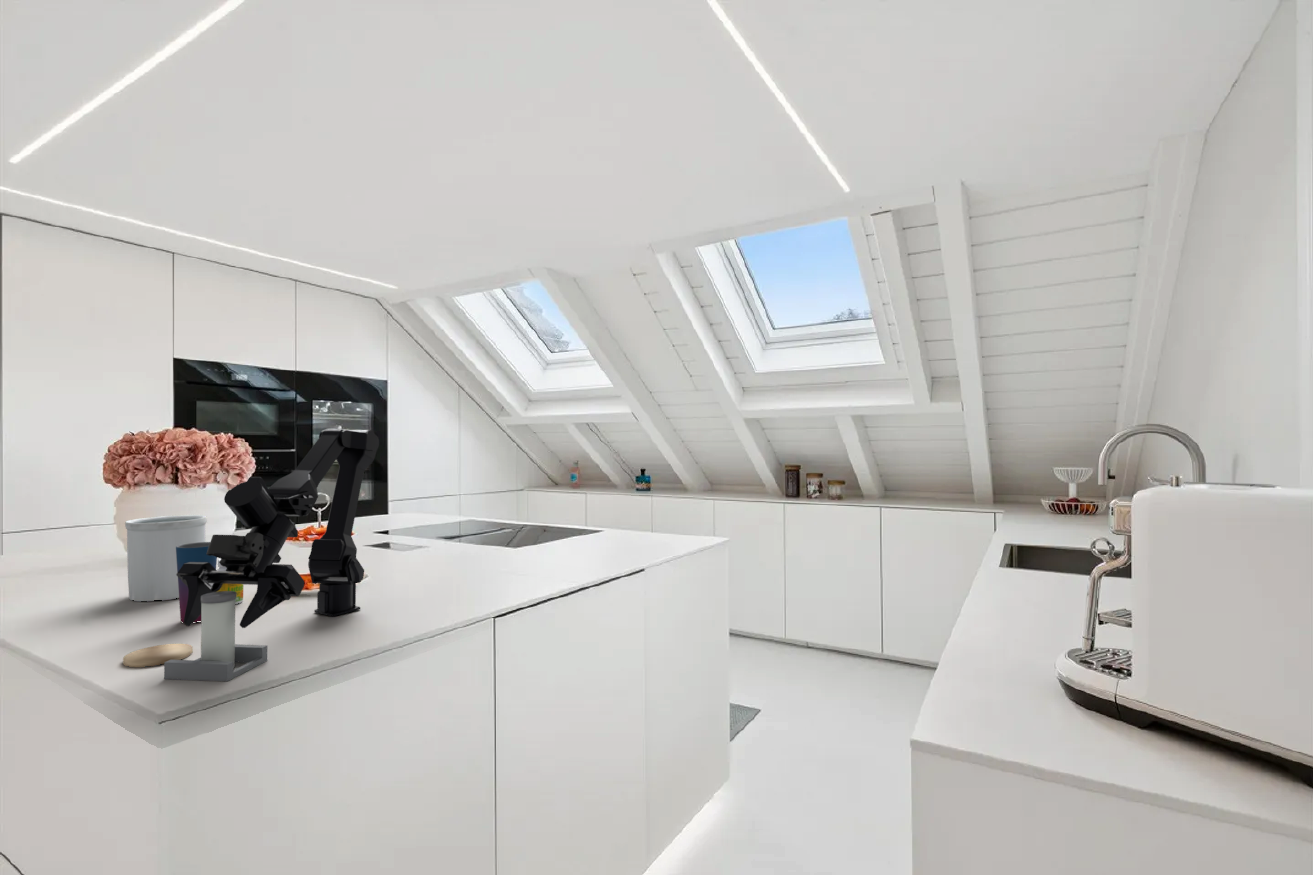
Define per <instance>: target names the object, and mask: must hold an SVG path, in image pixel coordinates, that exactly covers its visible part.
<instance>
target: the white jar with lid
mask: <svg viewBox="0 0 1313 875" xmlns="http://www.w3.org/2000/svg"><path fill="white" fill-rule="evenodd" d="M235 601H236V592H234V591H220V592H212V593H207V594H204V595H202V596H201V603H202V606H201V623H200V624H201V625H200V658H201V661H225V662H233V669H234V668H235V666H236V662H235V644H236V605H235Z"/></svg>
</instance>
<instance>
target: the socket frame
mask: <svg viewBox="0 0 1313 875" xmlns="http://www.w3.org/2000/svg"><path fill="white" fill-rule="evenodd" d="M267 661H268V645H266V644H265V645H264V644H244V643H243V644H239V643H237V644H236V643H235V663H244V664H242V665H241V666H239V667H236V668H235V669H234V668H233V662H225V661H201V657H199V658H196V659H194V660H193V659H191V660H190V659H189V660H188V659H182V660H169V661H166V662H164V664H163V665H164V667H163V668H164V669H163V671H164V672H163V673H164V674H163V676H164V677H163V679H164V680H180V679H181V680H182V681H183V680H184V681H185V680H187V681H205V682H206V681H207V682H208V681H209V682H210V681H212V682H213V681H214V682H229V681H230V680H232V679H234V678H237V677H238V676H240V675H242V674H244V673H246V672H248V671H249V670H252V669H254V668H256V667H258V666H259V665H262V664H263V663H265V662H267Z"/></svg>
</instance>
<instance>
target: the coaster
mask: <svg viewBox="0 0 1313 875" xmlns="http://www.w3.org/2000/svg"><path fill="white" fill-rule="evenodd" d="M191 653H192V654H193V646H192V645H191V644H187V643H168V644H167V643H165V644H159V645H153V646H148V647H144V648H140V649H137V650H134V651H132V652H129V653H127V654H125V655H124V656H123V658H122V664H123V665H124V666H125V667H127V666H129V668H146V667H145V666H151V667H156V666H155V665H158V666H161V665H160V664H163V665H164V662H166V661H169V660H181V659H182V660H185V659H186V658H188V657H190V656H191V655H192V654H191ZM190 654H191V655H190ZM189 655H190V656H189Z"/></svg>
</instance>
